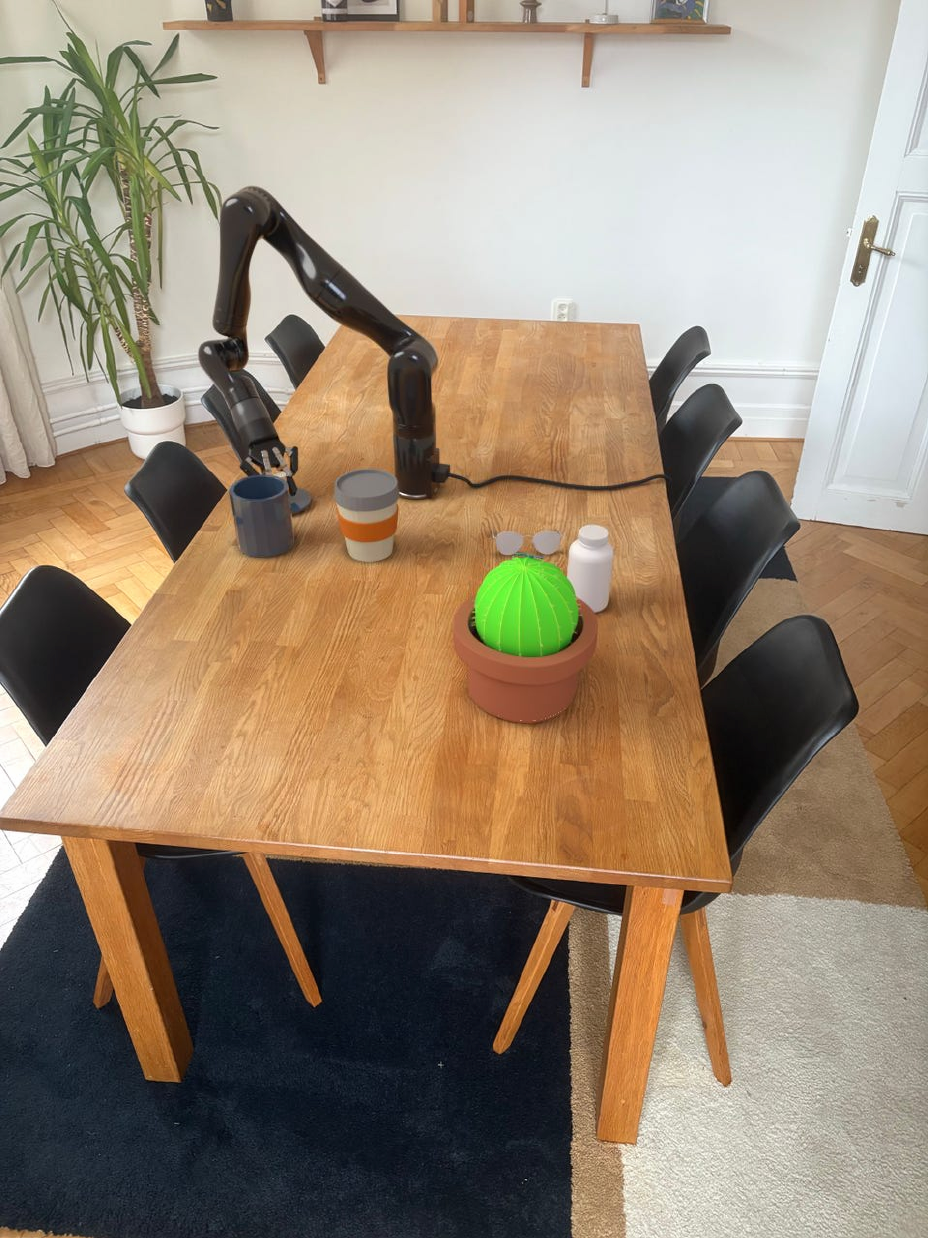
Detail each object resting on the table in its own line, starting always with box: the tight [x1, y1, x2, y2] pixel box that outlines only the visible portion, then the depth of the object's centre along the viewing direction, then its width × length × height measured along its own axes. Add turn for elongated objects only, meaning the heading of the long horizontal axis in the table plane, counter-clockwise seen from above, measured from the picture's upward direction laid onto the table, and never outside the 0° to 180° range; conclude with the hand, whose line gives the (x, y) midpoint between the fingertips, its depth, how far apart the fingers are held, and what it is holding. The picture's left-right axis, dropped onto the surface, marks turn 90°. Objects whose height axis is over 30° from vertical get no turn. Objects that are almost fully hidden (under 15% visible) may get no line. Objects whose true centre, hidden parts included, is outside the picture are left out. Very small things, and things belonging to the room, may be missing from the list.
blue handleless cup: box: [228, 474, 295, 559], centre depth 188 cm, size 11×11×13 cm
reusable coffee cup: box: [333, 468, 400, 563], centre depth 185 cm, size 12×13×15 cm
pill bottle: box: [566, 524, 615, 614], centre depth 170 cm, size 8×8×15 cm
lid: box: [272, 471, 312, 515], centre depth 203 cm, size 12×12×7 cm
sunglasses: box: [491, 527, 564, 556], centre depth 191 cm, size 14×8×5 cm, turn 92°
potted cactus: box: [452, 552, 599, 724], centre depth 147 cm, size 22×22×25 cm
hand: (286, 496), depth 202 cm, fingers open, 3 cm apart
